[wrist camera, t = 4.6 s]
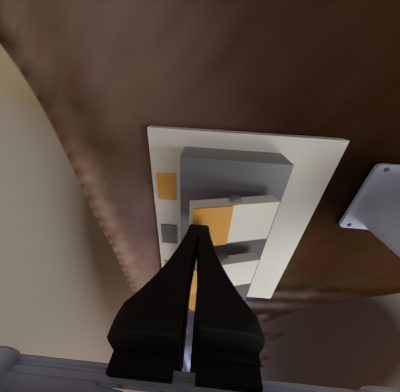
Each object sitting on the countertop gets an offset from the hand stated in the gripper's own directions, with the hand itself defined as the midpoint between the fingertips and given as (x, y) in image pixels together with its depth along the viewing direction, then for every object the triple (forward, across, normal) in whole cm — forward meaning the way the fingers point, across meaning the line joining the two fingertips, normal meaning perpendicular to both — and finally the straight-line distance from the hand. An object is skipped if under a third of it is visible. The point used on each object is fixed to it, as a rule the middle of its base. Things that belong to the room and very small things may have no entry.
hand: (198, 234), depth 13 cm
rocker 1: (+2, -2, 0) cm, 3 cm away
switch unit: (+8, -4, +7) cm, 11 cm away
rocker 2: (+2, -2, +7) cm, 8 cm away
